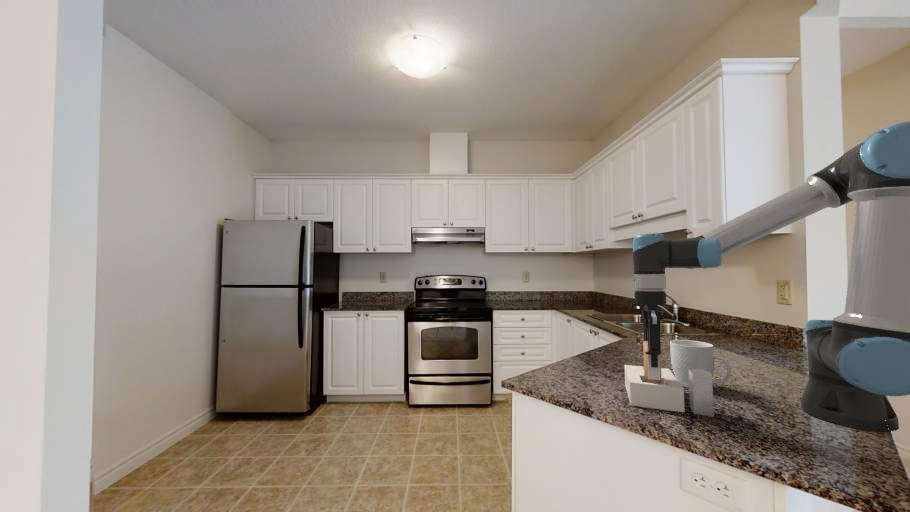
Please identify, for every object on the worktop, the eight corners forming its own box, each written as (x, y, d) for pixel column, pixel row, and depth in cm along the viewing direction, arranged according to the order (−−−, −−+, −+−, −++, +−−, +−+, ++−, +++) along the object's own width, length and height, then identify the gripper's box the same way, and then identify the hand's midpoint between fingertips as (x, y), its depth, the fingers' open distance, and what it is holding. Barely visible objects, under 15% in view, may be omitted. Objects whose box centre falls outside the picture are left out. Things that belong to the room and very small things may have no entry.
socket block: (669, 389, 100) (668, 368, 100) (684, 412, 83) (683, 388, 83) (625, 384, 104) (624, 364, 105) (630, 405, 88) (629, 382, 88)
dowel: (660, 386, 91) (658, 341, 91) (663, 390, 87) (661, 344, 88) (643, 384, 92) (642, 340, 93) (645, 388, 89) (644, 343, 89)
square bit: (708, 410, 84) (706, 370, 85) (713, 416, 81) (711, 374, 81) (689, 407, 86) (688, 368, 86) (694, 413, 82) (692, 372, 83)
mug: (734, 389, 99) (732, 344, 100) (729, 399, 91) (727, 351, 92) (676, 378, 110) (674, 338, 110) (667, 386, 102) (665, 343, 103)
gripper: (631, 288, 100) (633, 366, 99) (638, 291, 85) (641, 384, 84) (660, 288, 97) (663, 369, 96) (672, 292, 82) (676, 388, 81)
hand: (652, 376), depth 90 cm, fingers closed on dowel, 4 cm apart
